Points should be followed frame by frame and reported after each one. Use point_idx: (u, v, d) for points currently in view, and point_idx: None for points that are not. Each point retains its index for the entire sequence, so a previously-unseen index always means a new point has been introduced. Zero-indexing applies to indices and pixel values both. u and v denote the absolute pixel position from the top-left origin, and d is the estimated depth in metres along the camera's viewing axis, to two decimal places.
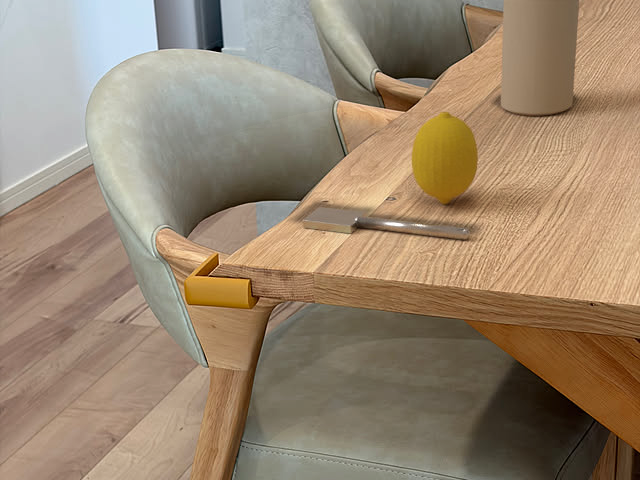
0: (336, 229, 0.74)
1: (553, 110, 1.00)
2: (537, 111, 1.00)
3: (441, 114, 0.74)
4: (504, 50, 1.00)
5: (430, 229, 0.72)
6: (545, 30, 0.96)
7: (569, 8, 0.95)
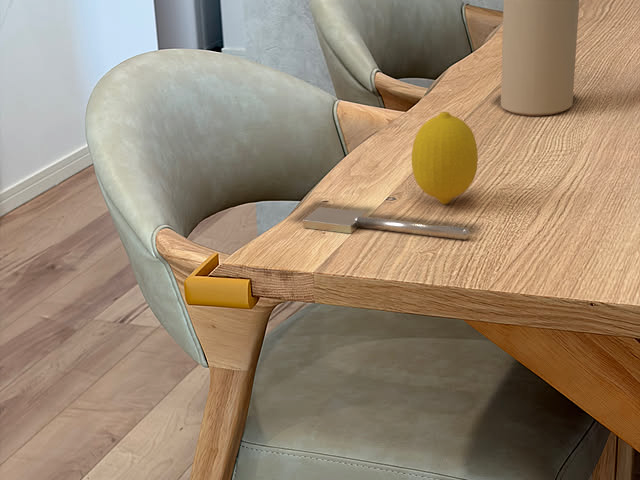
0: (336, 229, 0.74)
1: (553, 110, 1.00)
2: (537, 111, 1.00)
3: (441, 114, 0.74)
4: (504, 50, 1.00)
5: (430, 229, 0.72)
6: (545, 30, 0.96)
7: (569, 8, 0.95)
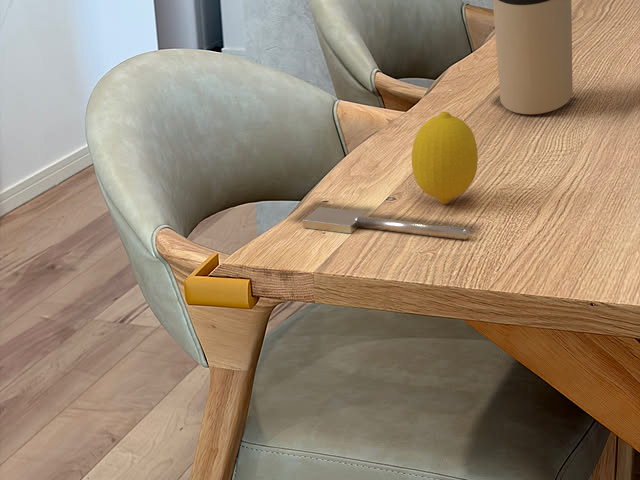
0: (336, 229, 0.74)
1: (553, 108, 0.99)
2: (536, 112, 1.00)
3: (441, 114, 0.74)
4: (498, 53, 0.98)
5: (430, 229, 0.72)
6: (537, 39, 0.94)
7: (560, 14, 0.92)
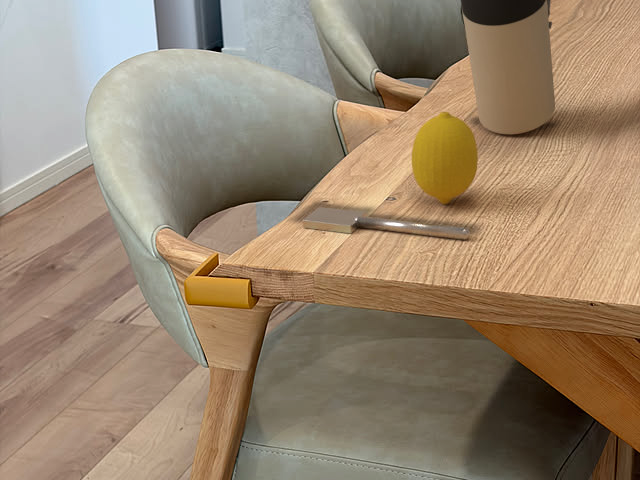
0: (336, 229, 0.74)
1: (534, 127, 0.93)
2: (517, 131, 0.93)
3: (441, 114, 0.74)
4: (473, 72, 0.92)
5: (430, 229, 0.72)
6: (513, 59, 0.87)
7: (536, 31, 0.86)
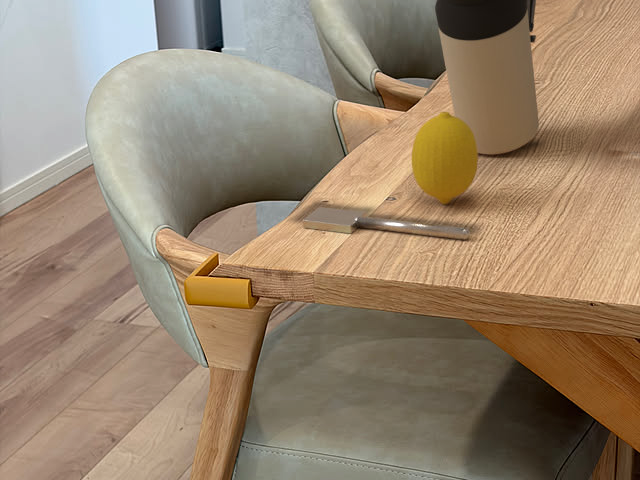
0: (336, 229, 0.74)
1: (516, 146, 0.88)
2: (498, 151, 0.88)
3: (441, 114, 0.74)
4: (450, 88, 0.86)
5: (430, 229, 0.72)
6: (492, 76, 0.82)
7: (516, 46, 0.80)
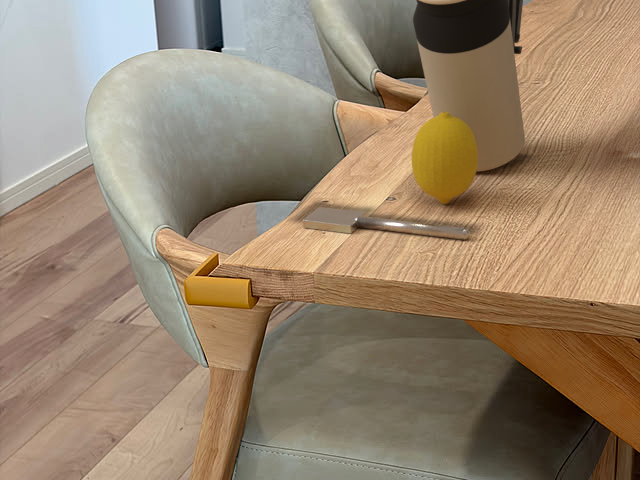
0: (336, 229, 0.74)
1: (500, 163, 0.84)
2: (482, 168, 0.84)
3: (441, 114, 0.74)
4: (431, 103, 0.82)
5: (430, 229, 0.72)
6: (473, 90, 0.77)
7: (498, 59, 0.76)
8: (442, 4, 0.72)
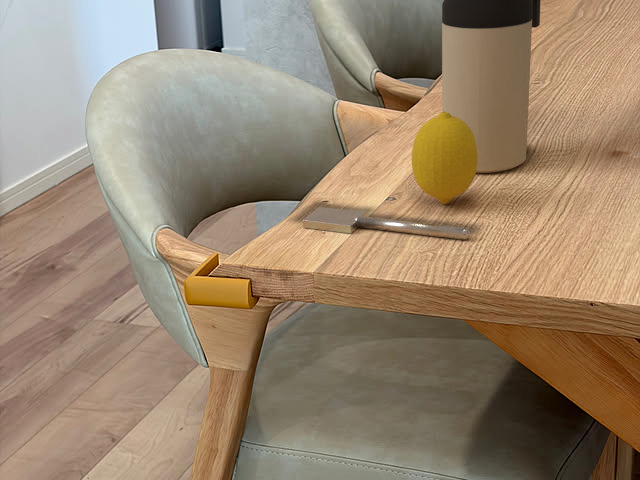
0: (336, 229, 0.74)
1: (502, 167, 0.84)
2: (483, 168, 0.84)
3: (441, 114, 0.74)
4: (444, 96, 0.84)
5: (430, 229, 0.72)
6: (489, 74, 0.80)
7: (518, 48, 0.79)
8: None
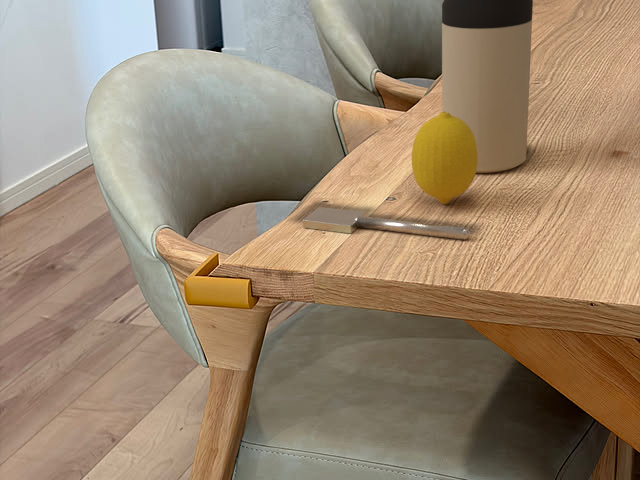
0: (336, 229, 0.74)
1: (502, 167, 0.84)
2: (483, 168, 0.84)
3: (441, 114, 0.74)
4: (443, 96, 0.84)
5: (430, 229, 0.72)
6: (489, 74, 0.80)
7: (517, 48, 0.79)
8: None
